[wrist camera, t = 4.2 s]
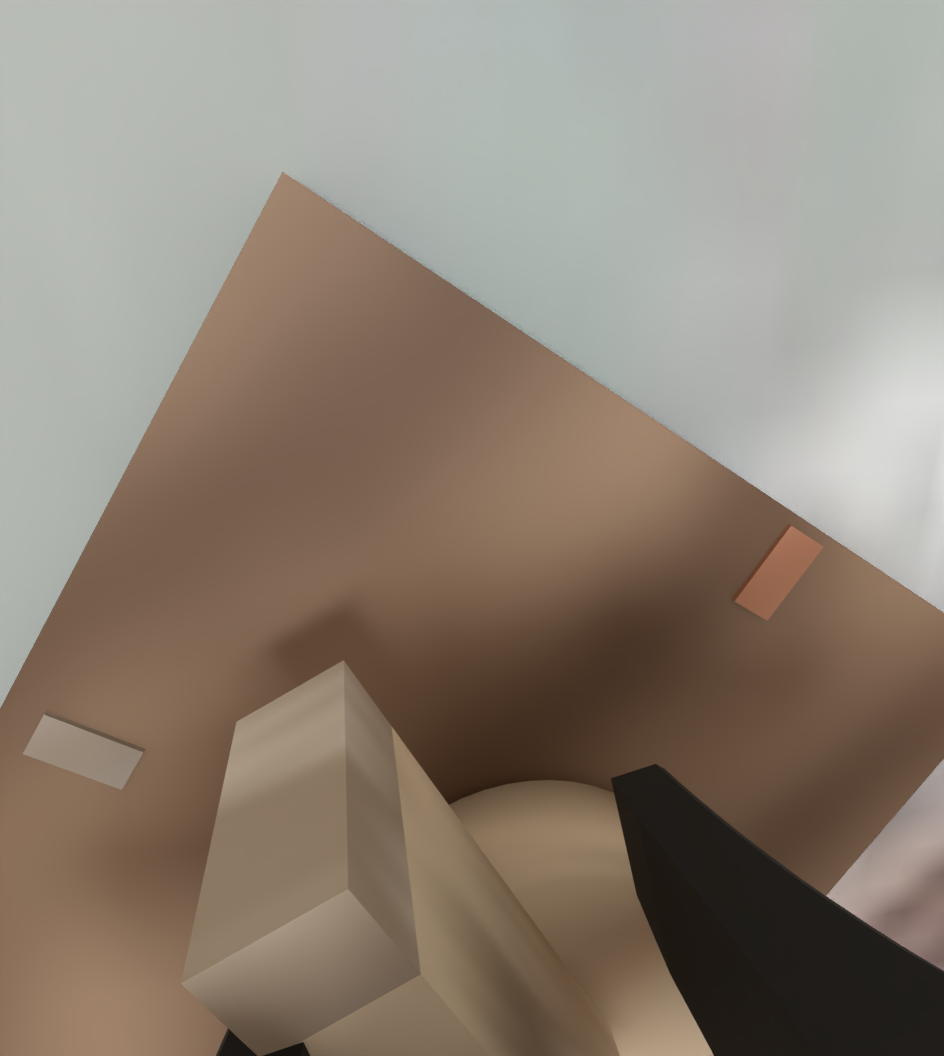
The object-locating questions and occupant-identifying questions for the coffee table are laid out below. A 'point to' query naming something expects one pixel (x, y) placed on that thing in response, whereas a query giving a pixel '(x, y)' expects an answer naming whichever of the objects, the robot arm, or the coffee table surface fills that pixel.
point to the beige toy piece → (418, 903)
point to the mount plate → (418, 619)
